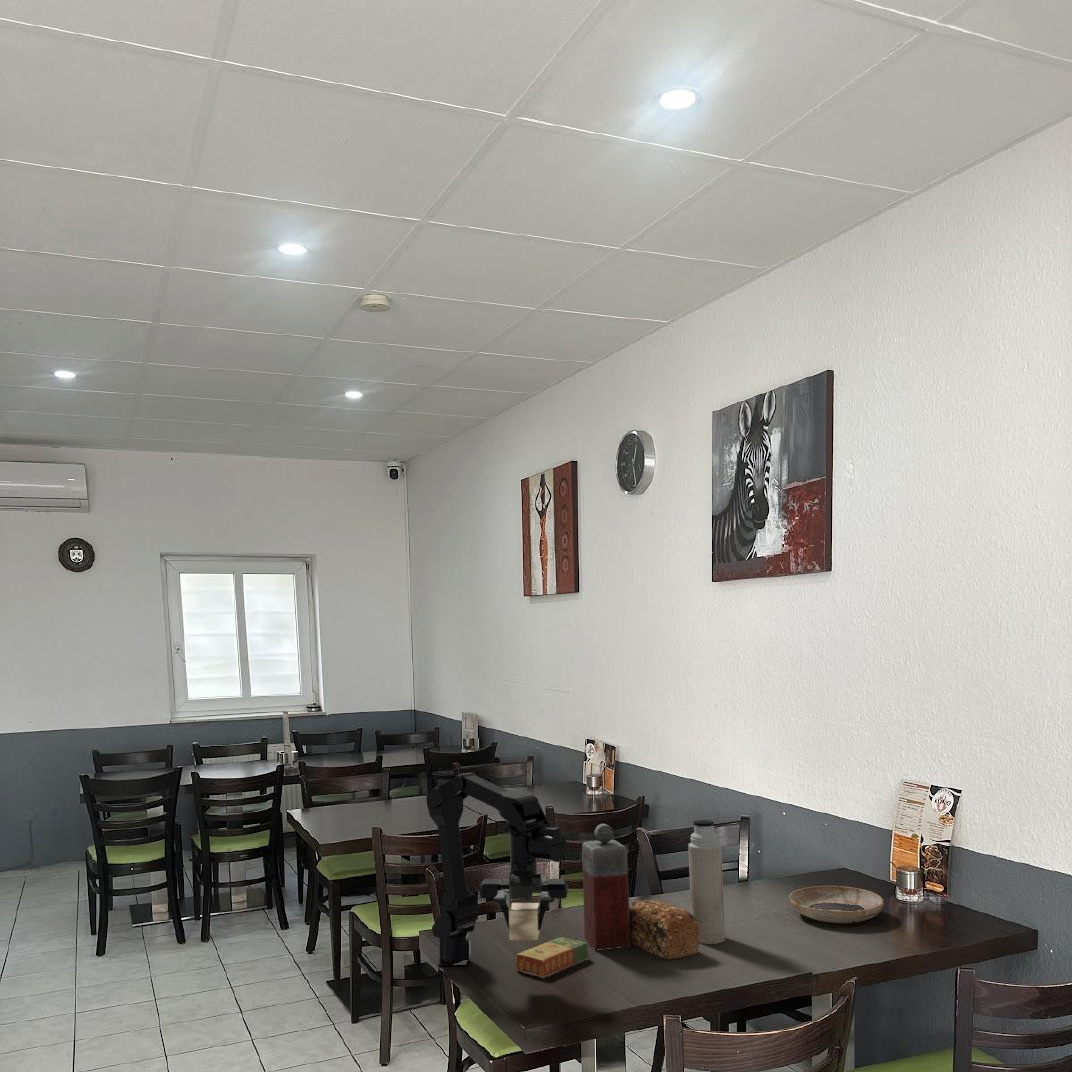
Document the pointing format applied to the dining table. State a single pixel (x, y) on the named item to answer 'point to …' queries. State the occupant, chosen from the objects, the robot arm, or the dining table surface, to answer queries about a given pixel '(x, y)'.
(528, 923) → the beech cube
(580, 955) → the carton
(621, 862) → the red sauce bottle
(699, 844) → the thermos bottle
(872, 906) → the ceramic bowl
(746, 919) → the dining table surface
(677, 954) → the bread
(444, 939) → the robot arm
